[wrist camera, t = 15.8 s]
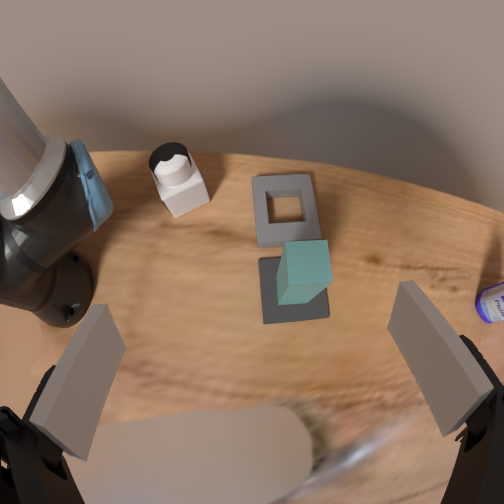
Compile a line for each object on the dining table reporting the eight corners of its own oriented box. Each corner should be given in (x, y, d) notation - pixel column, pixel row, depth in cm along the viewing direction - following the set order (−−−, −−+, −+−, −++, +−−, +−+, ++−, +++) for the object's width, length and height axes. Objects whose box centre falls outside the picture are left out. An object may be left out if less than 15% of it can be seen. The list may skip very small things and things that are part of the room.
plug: (278, 305, 40) (288, 284, 26) (276, 276, 42) (285, 241, 27) (307, 303, 40) (332, 281, 26) (304, 274, 42) (327, 239, 27)
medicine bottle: (162, 189, 48) (139, 150, 37) (196, 173, 49) (181, 130, 37) (174, 220, 46) (150, 183, 34) (211, 202, 47) (197, 160, 35)
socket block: (257, 248, 44) (257, 242, 41) (252, 184, 48) (251, 176, 45) (318, 243, 44) (321, 238, 41) (307, 181, 48) (309, 173, 45)
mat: (263, 324, 40) (263, 324, 39) (258, 260, 43) (258, 259, 43) (328, 317, 40) (329, 317, 39) (320, 255, 43) (321, 254, 43)
